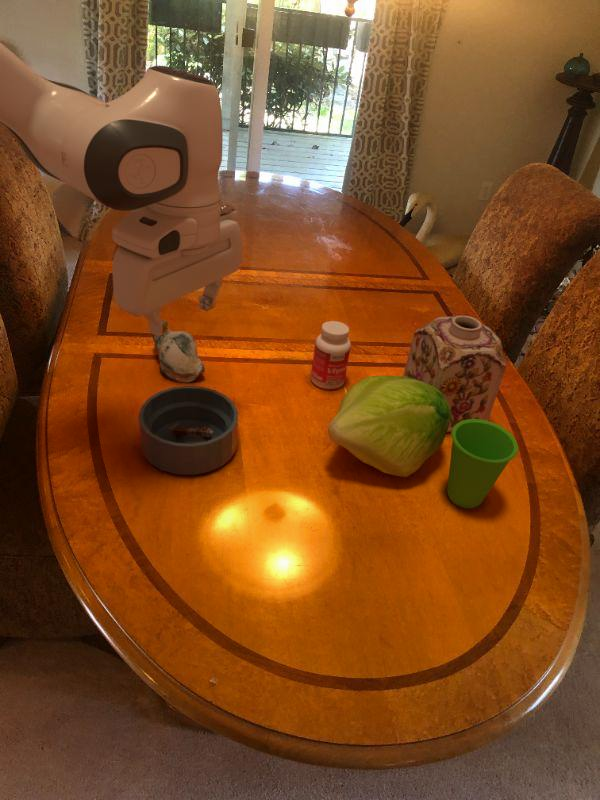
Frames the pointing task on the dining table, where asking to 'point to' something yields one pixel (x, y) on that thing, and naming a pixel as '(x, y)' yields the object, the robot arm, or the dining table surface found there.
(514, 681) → the dining table surface
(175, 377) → the seashell
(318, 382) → the pill bottle
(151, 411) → the basin
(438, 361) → the decorative jar
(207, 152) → the robot arm
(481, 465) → the cup
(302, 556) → the dining table surface
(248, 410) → the dining table surface
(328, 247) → the dining table surface
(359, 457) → the lettuce
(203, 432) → the brown buckled strap
